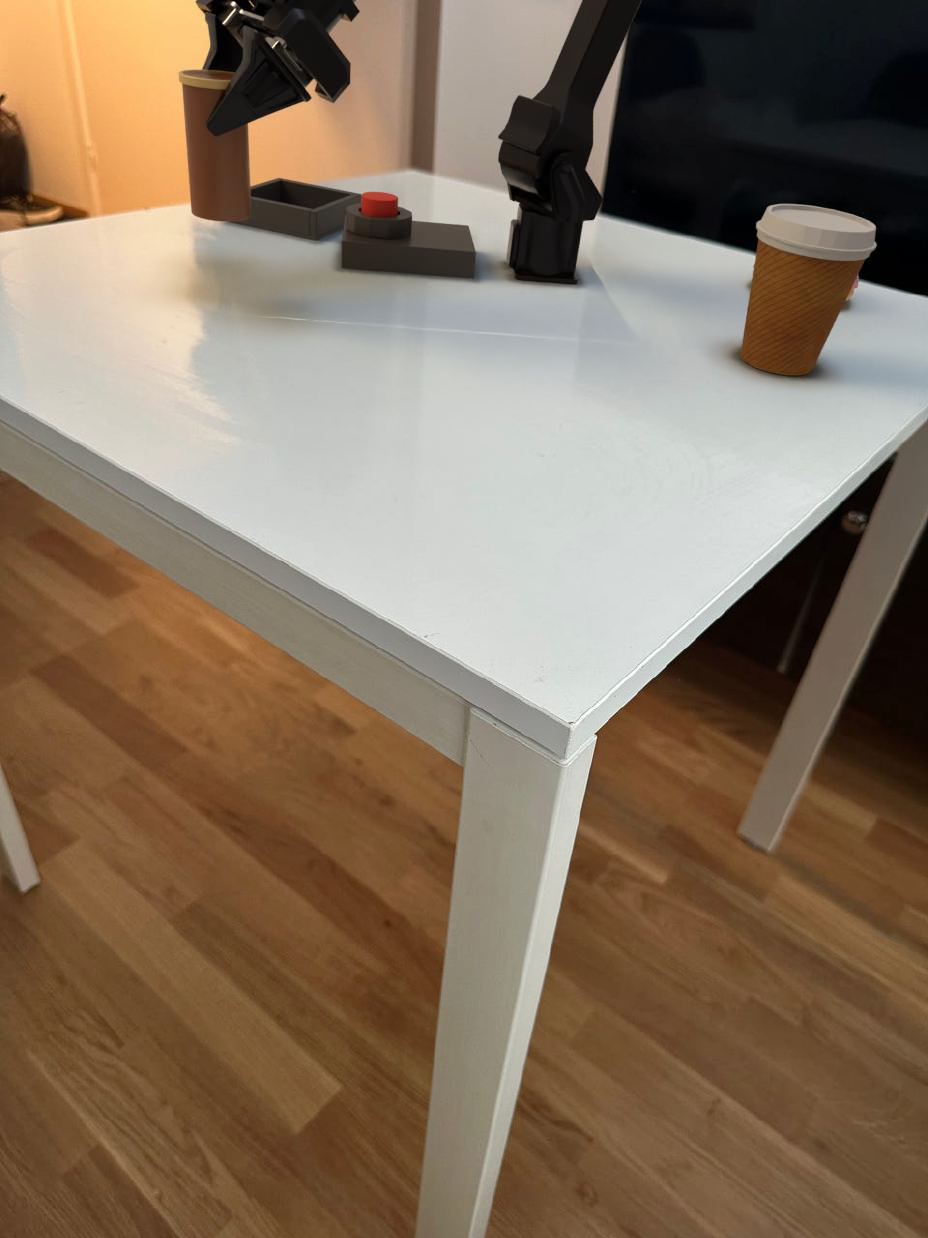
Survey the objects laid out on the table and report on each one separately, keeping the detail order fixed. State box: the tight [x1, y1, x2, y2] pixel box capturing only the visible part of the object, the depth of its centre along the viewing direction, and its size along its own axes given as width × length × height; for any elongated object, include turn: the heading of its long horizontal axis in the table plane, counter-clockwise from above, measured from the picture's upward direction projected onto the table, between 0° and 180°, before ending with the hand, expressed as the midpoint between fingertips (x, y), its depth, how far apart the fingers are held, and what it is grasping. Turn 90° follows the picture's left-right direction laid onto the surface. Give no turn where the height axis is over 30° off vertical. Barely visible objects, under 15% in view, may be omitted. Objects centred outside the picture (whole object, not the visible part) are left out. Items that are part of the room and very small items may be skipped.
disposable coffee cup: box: [739, 203, 878, 376], centre depth 77 cm, size 10×10×12 cm
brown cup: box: [178, 69, 251, 223], centre depth 73 cm, size 5×5×10 cm
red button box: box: [340, 202, 477, 280], centre depth 94 cm, size 13×10×4 cm
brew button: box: [361, 191, 399, 217], centre depth 92 cm, size 4×4×2 cm
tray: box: [229, 177, 363, 242], centre depth 101 cm, size 11×11×3 cm
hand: (199, 124), depth 72 cm, fingers closed on brown cup, 5 cm apart
